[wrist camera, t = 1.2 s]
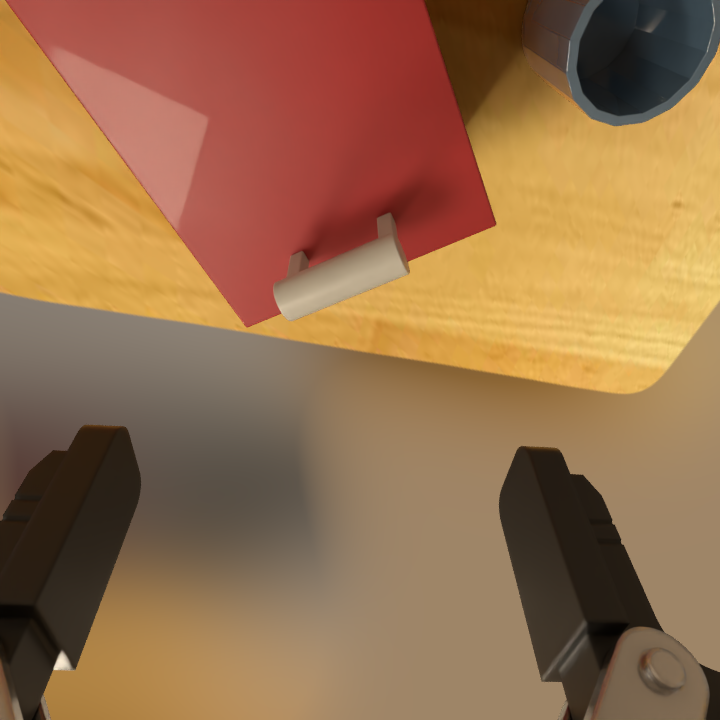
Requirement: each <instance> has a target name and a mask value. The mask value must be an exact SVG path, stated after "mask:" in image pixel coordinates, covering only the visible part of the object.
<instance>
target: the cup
mask: <svg viewBox="0 0 720 720" xmlns="http://www.w3.org/2000/svg"><path fill="white" fill-rule="evenodd" d="M719 42H720V0H529V1H528V4H527V7H526V10H525V13H524V17H523V22H522V47H523V51H524V55H525V57H526V60H527V62H528V64H529V65H530V67H531V69H532V70H533V71H534V72H535V73H536V74H537V75H538V76H539V77H540V78H541V79H542V80H543V81H544V82H545V83H546V84H547V85H549V86H550V87H551V88H553V89H554V90H555V91H556V92H558V93H559V94H560V95H561V96H563V97H564V98H565V99H567V100H568V101H569V102H570V103H572V104H573V105H574V106H575V107H577V108H578V109H579V110H581V111H582V112H583V113H584V114H586V115H587V116H588V117H589V118H591V119H593V120H597V121H600V122H603V123H606V124H609V125H612V126H621V125H629V124H637V123H643V122H646V121H648V120H650V119H651V118H653V117H655V116H657V115H659V114H661V113H663V112H665V111H667V110H669V109H671V108H672V107H674V106H675V105H676V104H677V103H678V102H679V101H680V100H681V99H682V98H683V97H684V96H685V95H686V94H687V93H688V92H690V91H691V90H692V89H693V88H694V87H695V86H696V85H697V84H698V82H699V81H700V79H701V77H702V76H703V74H704V73H705V71H706V69H707V68H708V66H709V64H710V63H711V61H712V59H713V58H714V56H715V55H716V52H717V49H718V45H719Z"/></svg>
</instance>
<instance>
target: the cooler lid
mask: <svg viewBox="0 0 720 720" xmlns="http://www.w3.org/2000/svg"><path fill="white" fill-rule="evenodd" d="M6 2H7V3H8V5H9V6H10V7H11V9H12V10H13V11H14V13H15V14H16V15H17V17H18V18H19V19H20V21H21V22H22V24H23V25H24V26H25V28H26V29H27V30H28V32H29V33H30V34H31V36H32V37H33V38H34V40H35V41H36V43H37V44H38V45H39V47H40V48H41V49H42V51H43V52H44V53H45V55H46V56H47V57H48V59H49V60H50V62H51V63H52V64H53V66H54V67H55V68H56V70H57V71H58V72H59V74H60V75H61V76H62V78H63V79H64V81H65V82H66V83H67V85H68V86H69V87H70V89H71V90H72V91H73V93H74V94H75V95H76V97H77V98H78V100H79V101H80V102H81V104H82V105H83V106H84V108H85V109H86V110H87V112H88V113H89V114H90V116H91V117H92V119H93V120H94V121H95V123H96V124H97V125H98V127H99V128H100V129H101V131H102V132H103V133H104V135H105V136H106V137H107V139H108V140H109V142H110V143H111V144H112V146H113V147H114V148H115V150H116V151H117V152H118V154H119V155H120V156H121V158H122V159H123V161H124V162H125V163H126V165H127V166H128V167H129V169H130V170H131V171H132V173H133V174H134V175H135V177H136V178H137V180H138V181H139V182H140V184H141V185H142V186H143V188H144V189H145V190H146V192H147V193H148V194H149V196H150V197H151V199H152V200H153V201H154V203H155V204H156V205H157V207H158V208H159V209H160V211H161V212H162V213H163V215H164V216H165V218H166V219H167V220H168V222H169V223H170V224H171V226H172V227H173V228H174V230H175V231H176V232H177V234H178V235H179V237H180V238H181V239H182V241H183V242H184V243H185V245H186V246H187V247H188V249H189V250H190V251H191V253H192V254H193V256H194V257H195V258H196V260H197V261H198V262H199V264H200V265H201V266H202V268H203V269H204V270H205V272H206V273H207V275H208V276H209V277H210V279H211V280H212V281H213V283H214V284H215V285H216V287H217V288H218V289H219V291H220V292H221V294H222V295H223V296H224V298H225V299H226V300H227V302H228V303H229V304H230V306H231V307H232V308H233V310H234V311H235V313H236V314H237V315H238V317H239V318H240V319H241V321H242V322H243V323H244V325H245V326H246V327H250V326H252V325H254V324H257V323H259V322H262V321H264V320H267V319H269V318H271V317H274V316H276V315H279V314H281V313H282V314H283V316H284V317H285V318H286V319H287V320H289V321H294V320H296V319H299V318H301V317H304V316H306V315H309V314H311V313H314V312H316V311H319V310H321V309H324V308H326V307H328V306H331V305H333V304H336V303H338V302H341V301H343V300H346V299H348V298H351V297H353V296H356V295H358V294H361V293H363V292H366V291H368V290H371V289H373V288H376V287H378V286H381V285H383V284H385V283H388V282H390V281H393V280H395V279H398V278H400V277H403V276H405V275H408V274H409V273H410V269H409V265H408V261H410V260H413V259H415V258H418V257H420V256H423V255H425V254H427V253H430V252H432V251H435V250H437V249H440V248H442V247H445V246H447V245H449V244H452V243H454V242H457V241H459V240H462V239H464V238H466V237H469V236H471V235H474V234H476V233H479V232H481V231H484V230H486V229H488V228H491V227H493V226H495V225H496V221H495V218H494V215H493V212H492V209H491V205H490V202H489V199H488V196H487V193H486V190H485V187H484V184H483V181H482V177H481V174H480V171H479V168H478V165H477V162H476V159H475V156H474V153H473V150H472V146H471V143H470V140H469V137H468V134H467V131H466V128H465V125H464V122H463V119H462V115H461V112H460V109H459V106H458V103H457V100H456V97H455V94H454V91H453V87H452V84H451V81H450V78H449V75H448V72H447V69H446V66H445V63H444V60H443V56H442V53H441V50H440V47H439V44H438V41H437V38H436V35H435V32H434V28H433V25H432V22H431V19H430V16H429V13H428V10H427V7H426V4H425V1H424V0H6Z"/></svg>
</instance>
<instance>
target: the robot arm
mask: <svg viewBox="0 0 720 720" xmlns="http://www.w3.org/2000/svg"><path fill="white" fill-rule="evenodd" d="M140 488H141V477H140V472H139V468H138V464H137V461H136V457H135V454H134V450H133V446H132V443H131V439H130V435H129V432H128V430H127V428H126V427H123V426H103V425H84V426H83V427H81V428H80V430H79V431H78V433H77V435H76V436H75V438H74V440H73V442H72V444H71V445H70V447H69V449H68V451H55V450H53V451H52V452H51V453H50V454H49V455H47V456H46V457H45V458H44V459H43V460H42V461H40V462H39V463H38V464H37V465H36V466H35V467H33V468H32V469H31V470H30V471H29V473H28V474H27V476H26V478H25V479H24V481H23V483H22V484H21V486H20V488H19V489H18V491H17V493H16V494H15V499H14V500H12V501H11V503H10V504H9V506H8V508H7V509H6V511H5V513H4V514H3V520H2V521H0V720H51V718H50V714H49V711H48V707H47V704H46V701H45V697H44V695H43V693H44V691H45V688H46V686H47V683H48V681H49V679H50V676H51V674H52V671H53V670H75V669H76V667H77V664H78V661H79V659H80V656H81V653H82V650H83V648H84V645H85V643H86V640H87V637H88V635H89V632H90V629H91V626H92V624H93V621H94V619H95V616H96V613H97V611H98V608H99V605H100V602H101V600H102V597H103V595H104V592H105V589H106V587H107V584H108V581H109V578H110V576H111V573H112V570H113V568H114V565H115V563H116V560H117V557H118V555H119V552H120V549H121V547H122V544H123V541H124V539H125V536H126V533H127V531H128V528H129V525H130V523H131V520H132V517H133V515H134V512H135V509H136V507H137V504H138V500H139V496H140ZM499 512H500V519H501V523H502V527H503V531H504V535H505V539H506V543H507V547H508V551H509V555H510V559H511V562H512V567H513V571H514V574H515V578H516V582H517V586H518V590H519V594H520V598H521V602H522V606H523V610H524V614H525V618H526V622H527V625H528V629H529V633H530V637H531V641H532V645H533V649H534V653H535V657H536V661H537V665H538V669H539V672H540V677H541V680H542V681H545V682H562V684H563V687H564V691H565V695H566V698H567V700H566V701H565V703H564V705H563V707H562V710H561V713H560V715H559V718H558V720H720V672H717V671H714V670H712V669H710V668H707V667H705V666H703V665H701V664H699V663H698V662H697V660H696V659H695V658H694V656H693V655H692V654H691V653H690V652H689V651H688V650H687V648H686V647H684V646H683V645H682V644H681V643H680V642H679V641H677V640H676V639H674V638H673V637H672V636H670V635H668V634H666V633H665V632H664V631H663V629H662V628H661V626H660V624H659V622H658V621H657V619H656V617H655V614H654V612H653V610H652V608H651V605H650V603H649V601H648V599H647V597H646V594H645V592H644V590H643V587H642V585H641V583H640V581H639V579H638V576H637V574H636V572H635V570H634V567H633V565H632V563H631V560H630V558H629V556H628V554H627V552H626V549H625V547H624V545H622V544H621V538H620V536H619V533H618V531H617V529H616V527H615V525H613V524H612V518H611V516H610V513H609V511H608V509H607V507H606V504H605V502H604V500H603V498H602V496H601V495H600V493H599V492H598V491H597V490H596V489H595V488H594V487H593V486H592V485H591V483H590V482H589V481H588V480H587V479H586V478H585V477H584V476H583V475H576V474H570V472H569V470H568V467H567V465H566V462H565V460H564V457H563V455H562V453H561V452H560V450H559V449H557V448H548V447H526V446H521V447H519V448H518V450H517V451H516V454H515V456H514V459H513V461H512V464H511V467H510V469H509V471H508V474H507V477H506V479H505V481H504V484H503V487H502V490H501V493H500V499H499Z"/></svg>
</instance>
